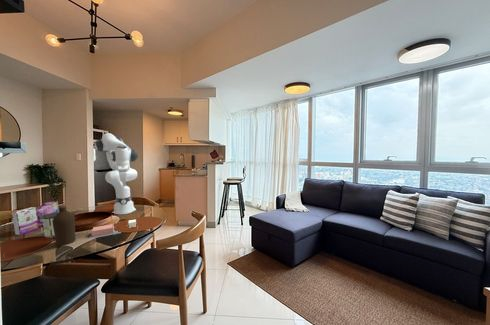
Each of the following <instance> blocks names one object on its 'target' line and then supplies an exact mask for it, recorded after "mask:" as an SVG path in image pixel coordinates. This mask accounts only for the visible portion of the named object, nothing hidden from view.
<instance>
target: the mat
mask: <svg viewBox="0 0 490 325" xmlns="http://www.w3.org/2000/svg"><path fill="white" fill-rule="evenodd" d="M118 234H122V233H121V232H118V231H115V230H114V233H111V234H105V235H100V236H95V237H92V232H91V233H90V236H89V240H92V239H96V238H101V237H107V236H112V235H118Z"/></svg>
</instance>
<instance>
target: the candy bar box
mask: <svg viewBox="0 0 490 325" xmlns="http://www.w3.org/2000/svg"><path fill="white" fill-rule="evenodd" d="M36 208H37V207H32V206H31V207H27V208H24V209H20V210H16V211H12V212H11V215H12V221H13V226H14V228H13V230H14V233H15V236H22V235H25V234H28V233H30V232H33V231H36V230H39V229H40V227H39V226H38V219H37V212H36Z"/></svg>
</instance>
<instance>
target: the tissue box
mask: <svg viewBox="0 0 490 325" xmlns="http://www.w3.org/2000/svg"><path fill="white" fill-rule="evenodd" d="M58 213H59V212H55V213H49V214H46V215H44V216H42V219H43V226H42V227H43V233H44V234H43V235H44V237H45V236H54V237H55V234H54V228H53V223H52V221H53V218H54V217H55V216H56V215H57V214H58Z"/></svg>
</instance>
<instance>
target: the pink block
mask: <svg viewBox="0 0 490 325" xmlns="http://www.w3.org/2000/svg"><path fill="white" fill-rule="evenodd" d="M114 228H115V224H114V223H111V224H106V225H100V226H93V228H92V230H91V233H92V237H95V236H100V235H105V234H111V233H114Z"/></svg>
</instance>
